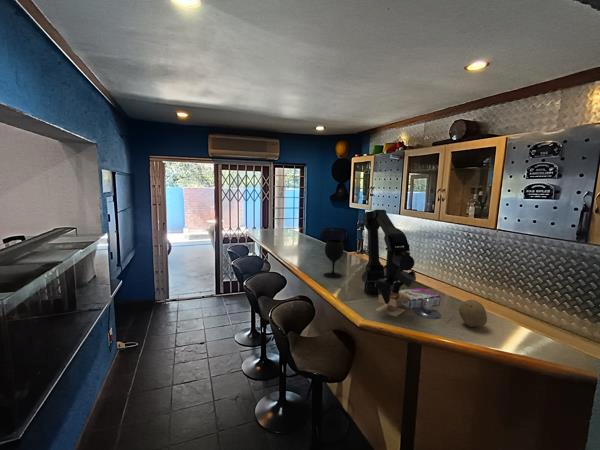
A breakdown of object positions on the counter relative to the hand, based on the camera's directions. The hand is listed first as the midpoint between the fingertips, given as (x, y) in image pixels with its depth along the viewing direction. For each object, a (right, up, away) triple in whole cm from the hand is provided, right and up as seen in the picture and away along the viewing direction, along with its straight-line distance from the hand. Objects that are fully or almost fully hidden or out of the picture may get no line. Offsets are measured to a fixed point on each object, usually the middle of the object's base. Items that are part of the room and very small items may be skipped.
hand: (390, 301), depth 118 cm
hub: (+14, -5, -2) cm, 15 cm away
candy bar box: (+22, -1, +13) cm, 26 cm away
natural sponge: (+27, -7, -9) cm, 29 cm away
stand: (0, -5, +1) cm, 5 cm away
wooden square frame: (0, 0, 0) cm, 0 cm away
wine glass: (-18, +2, +48) cm, 51 cm away
